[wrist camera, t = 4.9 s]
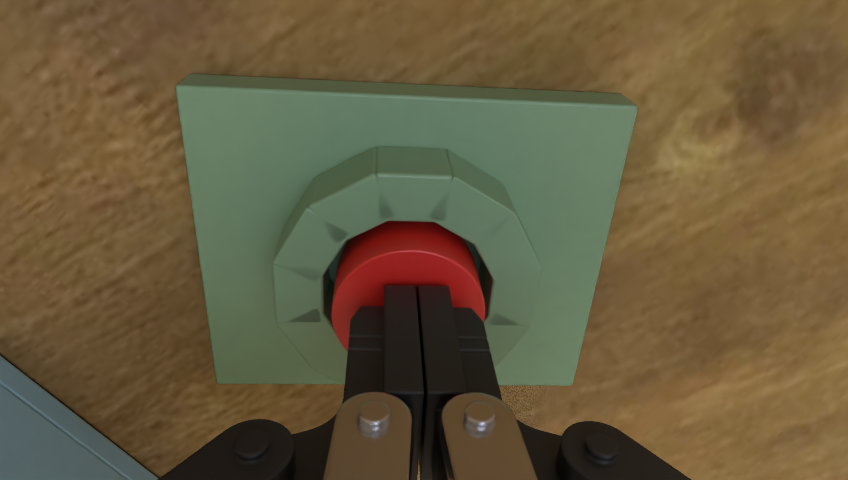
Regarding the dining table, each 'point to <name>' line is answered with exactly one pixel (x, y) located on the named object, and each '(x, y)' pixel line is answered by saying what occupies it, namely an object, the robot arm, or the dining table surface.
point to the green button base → (396, 209)
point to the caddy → (53, 438)
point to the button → (402, 268)
